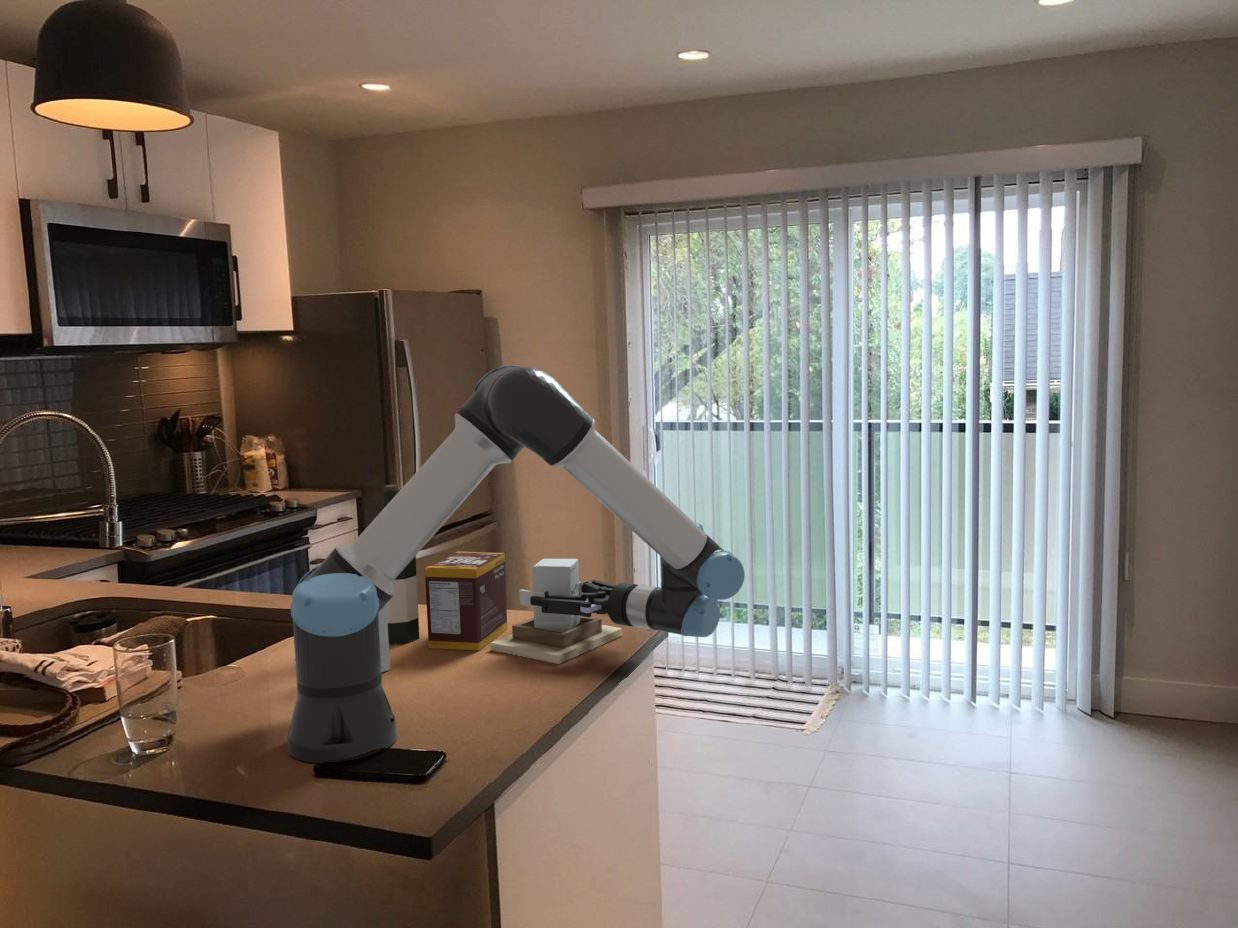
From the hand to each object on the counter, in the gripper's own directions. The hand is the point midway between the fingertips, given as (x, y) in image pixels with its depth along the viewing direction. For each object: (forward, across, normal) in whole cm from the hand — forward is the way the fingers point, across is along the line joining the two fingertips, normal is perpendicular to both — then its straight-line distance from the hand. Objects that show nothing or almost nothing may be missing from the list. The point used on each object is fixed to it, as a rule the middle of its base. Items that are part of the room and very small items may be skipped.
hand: (537, 590), depth 190 cm
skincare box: (+15, -29, -10) cm, 34 cm away
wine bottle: (+25, -13, -10) cm, 29 cm away
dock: (-4, 0, -10) cm, 10 cm away
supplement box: (+13, -6, -10) cm, 17 cm away
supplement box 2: (-5, 0, -7) cm, 8 cm away
